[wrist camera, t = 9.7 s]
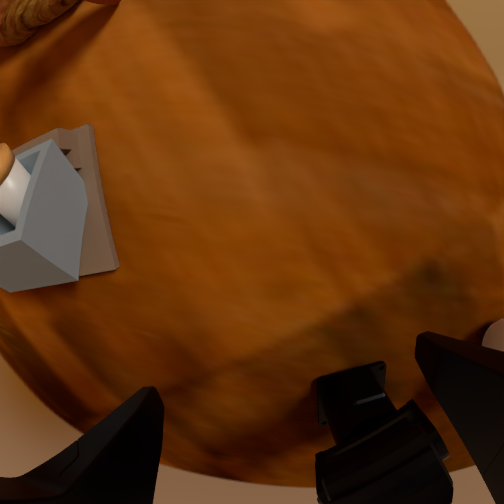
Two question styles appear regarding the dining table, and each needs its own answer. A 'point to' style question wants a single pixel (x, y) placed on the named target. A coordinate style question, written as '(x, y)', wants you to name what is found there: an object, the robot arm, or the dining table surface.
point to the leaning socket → (57, 215)
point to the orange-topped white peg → (11, 184)
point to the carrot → (104, 2)
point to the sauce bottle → (495, 336)
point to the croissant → (27, 17)
